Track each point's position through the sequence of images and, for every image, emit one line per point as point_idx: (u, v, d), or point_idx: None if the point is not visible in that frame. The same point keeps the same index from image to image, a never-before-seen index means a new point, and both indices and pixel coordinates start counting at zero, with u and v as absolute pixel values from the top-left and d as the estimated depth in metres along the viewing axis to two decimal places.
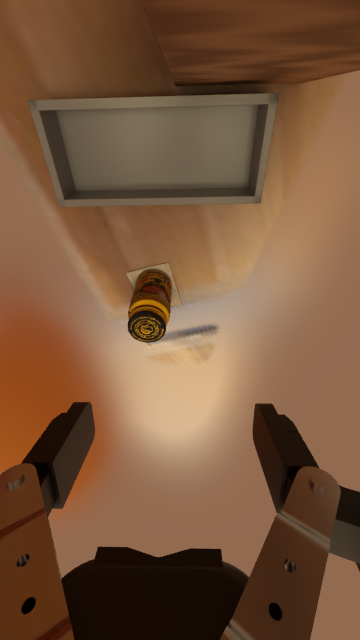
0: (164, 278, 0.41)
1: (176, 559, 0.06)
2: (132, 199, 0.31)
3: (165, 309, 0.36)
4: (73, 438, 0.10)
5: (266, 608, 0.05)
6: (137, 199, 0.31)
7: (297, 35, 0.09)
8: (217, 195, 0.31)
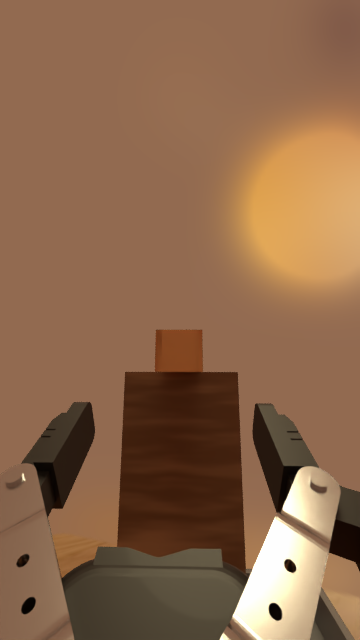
0: None
1: (176, 559, 0.06)
2: None
3: None
4: (73, 438, 0.10)
5: (266, 608, 0.05)
6: None
7: None
8: (325, 609, 0.31)
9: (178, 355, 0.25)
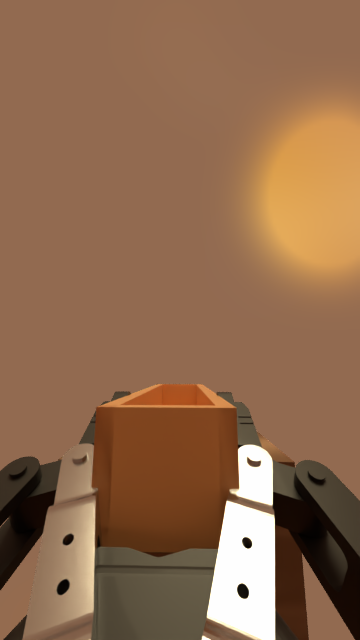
0: None
1: (176, 559, 0.06)
2: None
3: None
4: None
5: (266, 608, 0.05)
6: None
7: None
8: None
9: (163, 493, 0.08)
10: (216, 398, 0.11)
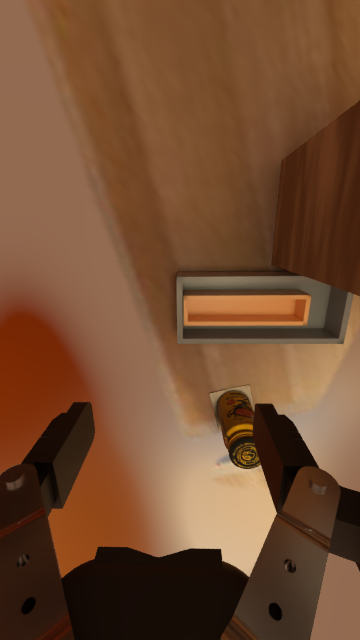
0: (247, 399, 0.45)
1: (176, 559, 0.06)
2: (238, 339, 0.38)
3: None
4: (73, 438, 0.10)
5: (266, 608, 0.05)
6: (242, 339, 0.38)
7: None
8: (306, 336, 0.39)
9: None
10: (204, 323, 0.38)
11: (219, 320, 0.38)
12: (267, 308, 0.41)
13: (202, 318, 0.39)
